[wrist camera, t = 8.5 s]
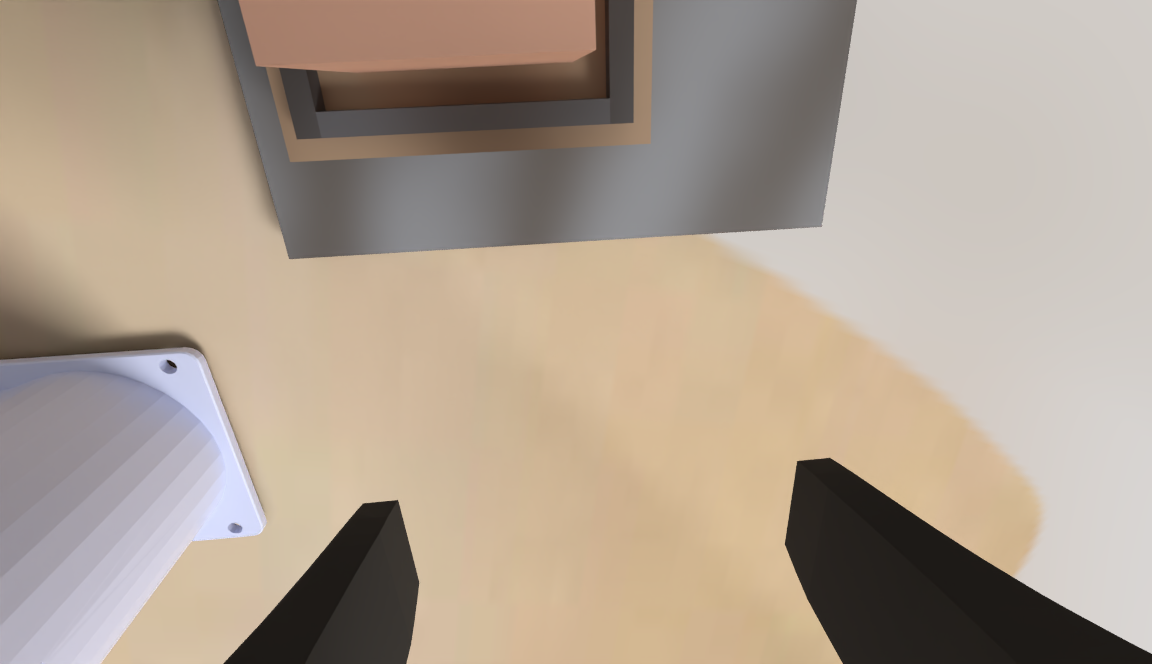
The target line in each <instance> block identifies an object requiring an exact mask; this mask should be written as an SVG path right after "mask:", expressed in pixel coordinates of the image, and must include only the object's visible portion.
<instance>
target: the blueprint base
mask: <svg viewBox="0 0 1152 664" xmlns="http://www.w3.org/2000/svg"><path fill="white" fill-rule="evenodd" d="M217 1H218V5H219V8H220V12H221V15H222V19H223V23H224V26H225V30H226V33H227V37H228V40H229V44H230V48H231V51H232V55H233V58H234V62H235V66H236V69H237V73H238V76H239V80H240V84H241V87H242V91H243V94H244V98H245V102H246V105H247V109H248V112H249V116H250V120H251V123H252V127H253V130H254V134H255V138H256V141H257V145H258V148H259V152H260V155H261V159H262V163H263V166H264V170H265V173H266V177H267V181H268V184H269V188H270V191H271V195H272V199H273V202H274V206H275V209H276V213H277V217H278V220H279V224H280V227H281V231H282V235H283V238H284V242H285V245H286V249H287V253H288V256H289V259H299V258H315V257H332V256H348V255H365V254H381V253H398V252H414V251H431V250H447V249H464V248H480V247H497V246H513V245H530V244H546V243H563V242H579V241H596V240H612V239H628V238H645V237H661V236H678V235H694V234H711V233H727V232H741V231H742V232H744V231H760V230H777V229H792V228H809V227H822V221H823V214H824V208H825V201H826V194H827V189H828V182H829V176H830V169H831V163H832V156H833V149H834V144H835V137H836V131H837V125H838V118H839V112H840V105H841V99H842V92H843V85H844V79H845V73H846V67H847V60H848V54H849V47H850V41H851V35H852V28H853V22H854V16H855V9H856V2H857V0H595V25H596V50H595V51H593V52H591V53H589V54H587V55H585V56H583V57H581V58H580V59H578V60H576V61H574V62H567V63H547V64H527V65H507V66H487V67H466V68H446V69H426V70H406V71H385V72H365V73H351V72H336V71H321V70H306V69H291V68H276V67H262V66H256V64H255V60H254V56H253V53H252V49H251V45H250V42H249V38H248V34H247V30H246V27H245V23H244V19H243V16H242V12H241V8H240V4H239V1H238V0H217Z"/></svg>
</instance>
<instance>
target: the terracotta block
mask: <svg viewBox="0 0 1152 664" xmlns="http://www.w3.org/2000/svg"><path fill="white" fill-rule="evenodd" d="M238 1H239V4H240V8H241V12H242V16H243V19H244V23H245V27H246V30H247V34H248V38H249V42H250V45H251V49H252V53H253V56H254V60H255V64H256V66H262V67H276V68H291V69H306V70H321V71H336V72H351V73H365V72H385V71H406V70H426V69H446V68H466V67H487V66H507V65H527V64H547V63H567V62H574V61H576V60H578V59H580V58H581V57H583V56H585V55H587V54H589V53H591V52H593V51H595V50H596V25H595V0H238Z"/></svg>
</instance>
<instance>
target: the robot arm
mask: <svg viewBox="0 0 1152 664" xmlns="http://www.w3.org/2000/svg"><path fill="white" fill-rule="evenodd" d="M167 360H170V361H172V362H174V363H175V365H176V366H177V368H174V367H172V366H170V365H169V364H168V362H167ZM235 523H237V524H239V525H237V524H235ZM266 523H267V522H266V517H265V515H264V512H263V509H262V507H261V504H260V502H259V499H258V496H257V494H256V491H255V488H254V486H253V483H252V480H251V478H250V475H249V472H248V470H247V467H246V465H245V462H244V459H243V457H242V454H241V451H240V449H239V446H238V443H237V441H236V438H235V435H234V433H233V430H232V428H231V425H230V422H229V420H228V417H227V414H226V412H225V409H224V406H223V404H222V401H221V398H220V396H219V393H218V391H217V388H216V385H215V383H214V380H213V377H212V375H211V372H210V369H209V367H208V364H207V361H206V359H205V358H204V356H203V354H201V353H200V352H199V351H198V350H195V349H193V348H188V347H181V348H167V349H152V350H137V351H123V352H108V353H94V354H79V355H64V356H50V357H35V358H21V359H6V360H0V664H101V663H102V661H103V660H104V658H105V657H106V656H107V654H108V653H109V652H110V650H111V649H112V648H113V646H114V645H115V644H116V642H117V641H118V640H119V638H120V637H121V636H122V634H123V633H124V632H125V630H126V629H127V627H128V626H129V625H130V623H131V622H132V621H133V619H134V618H135V617H136V615H137V614H138V613H139V611H140V610H141V609H142V607H143V606H144V605H145V603H146V602H147V601H148V599H149V598H150V596H151V595H152V594H153V592H154V591H155V590H156V588H157V587H158V586H159V584H160V583H161V582H162V580H163V579H164V578H165V576H166V575H167V574H168V572H169V571H170V570H171V568H172V567H173V565H174V564H175V563H176V561H177V560H178V559H179V557H180V556H181V555H182V553H183V552H184V551H185V549H186V548H187V547H188V545H189V544H190V543H191V541H200V540H211V539H223V538H234V537H245V536H254V535H258V534H260V533H261V532H262V530H263V529H264V527H265V525H266ZM240 525H241V526H240ZM785 546H786V548H787V551H788V553H789V556H790V558H791V561H792V563H793V566H794V568H795V571H796V573H797V576H798V578H799V580H800V583H801V585H802V587H803V590H804V592H805V594H806V597H807V599H808V601H809V603H810V605H811V606H812V608H813V610H814V612H815V614H816V616H817V618H818V619H819V621H820V623H821V625H822V627H823V628H824V630H825V632H826V634H827V636H828V638H829V639H830V641H831V643H832V645H833V647H834V648H835V650H836V652H837V654H838V656H839V657H840V659H841V661H842V663H843V664H1152V654H1151V653H1149V652H1147V651H1145V650H1143V649H1141V648H1139V647H1137V646H1135V645H1133V644H1131V643H1129V642H1128V641H1126V640H1123V639H1122V638H1120V637H1118V636H1116V635H1114V634H1113V633H1111V632H1109V631H1107V630H1105V629H1103V628H1102V627H1100V626H1098V625H1096V624H1094V623H1092V622H1090V621H1089V620H1087V619H1085V618H1082V617H1081V616H1079V615H1077V614H1075V613H1074V612H1072V611H1070V610H1068V609H1066V608H1065V607H1063V606H1061V605H1059V604H1057V603H1056V602H1054V601H1052V600H1051V599H1049V598H1047V597H1045V596H1043V595H1041V594H1040V593H1038V592H1037V591H1035V590H1033V589H1031V588H1030V587H1028V586H1026V585H1025V584H1023V583H1022V582H1020V581H1018V580H1017V579H1015V578H1013V577H1012V576H1010V575H1008V574H1007V573H1005V572H1003V571H1002V570H1000V569H998V568H997V567H995V566H993V565H992V564H990V563H988V562H987V561H985V560H984V559H982V558H980V557H979V556H977V555H976V554H974V553H972V552H971V551H969V550H968V549H966V548H965V547H963V546H961V545H960V544H958V543H957V542H955V541H954V540H952V539H951V538H949V537H948V536H946V535H944V534H943V533H941V532H940V531H938V530H937V529H935V528H934V527H932V526H931V525H929V524H928V523H926V522H925V521H923V520H922V519H920V518H919V517H917V516H916V515H914V514H913V513H911V512H910V511H908V510H907V509H905V508H904V507H902V506H901V505H900V504H898V503H897V502H895V501H894V500H892V499H891V498H889V497H888V496H886V495H885V494H883V493H882V492H880V491H879V490H878V489H876V488H875V487H873V486H872V485H870V484H869V483H867V482H866V481H864V480H863V479H861V478H860V477H858V476H857V475H855V474H854V473H853V472H851V471H850V470H848V469H846V468H845V467H843V466H842V465H840V464H839V463H837V462H836V461H834V460H832V459H831V458H824V459H814V460H804V461H797V466H796V473H795V480H794V487H793V493H792V500H791V507H790V513H789V520H788V527H787V534H786V540H785ZM418 588H419V580H418V576H417V572H416V568H415V564H414V560H413V556H412V553H411V549H410V545H409V541H408V537H407V533H406V529H405V525H404V521H403V518H402V514H401V510H400V506H399V502H398V500H395V501H385V502H375V503H364V504H362V506H361V507H360V508H359V509H358V510H357V511H356V512H355V514H354V515H353V516H352V517H351V518H350V519H349V521H348V522H347V523H346V524H345V525H344V527H343V528H342V529H341V530H340V531H339V533H338V534H337V535H336V536H335V537H334V539H333V540H332V541H331V542H330V543H329V545H328V546H327V547H326V548H325V550H324V551H323V552H322V553H321V554H320V556H319V557H318V558H317V559H316V560H315V562H314V563H313V564H312V565H311V566H310V567H309V569H308V570H307V571H306V572H305V573H304V575H303V576H302V577H301V578H300V579H299V580H298V582H297V583H296V584H295V585H294V586H293V587H292V588H291V590H290V591H289V592H288V593H287V594H286V595H285V597H284V598H283V599H282V600H281V601H280V602H279V603H278V605H277V606H276V607H275V608H274V609H273V610H272V612H271V613H270V614H269V615H268V616H267V617H266V618H265V619H264V621H263V622H262V623H261V624H260V625H259V626H258V627H257V628H256V629H255V630H254V631H253V632H252V634H251V635H250V636H249V637H248V638H247V639H246V640H245V641H244V642H243V643H242V644H241V645H240V646H239V647H238V649H237V650H236V651H235V652H234V653H233V654H232V655H231V656H230V657H229V658H228V659H227V660H226V661H225V663H224V664H406V662H407V658H408V654H409V650H410V646H411V640H412V633H413V627H414V620H415V612H416V604H417V596H418Z"/></svg>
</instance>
